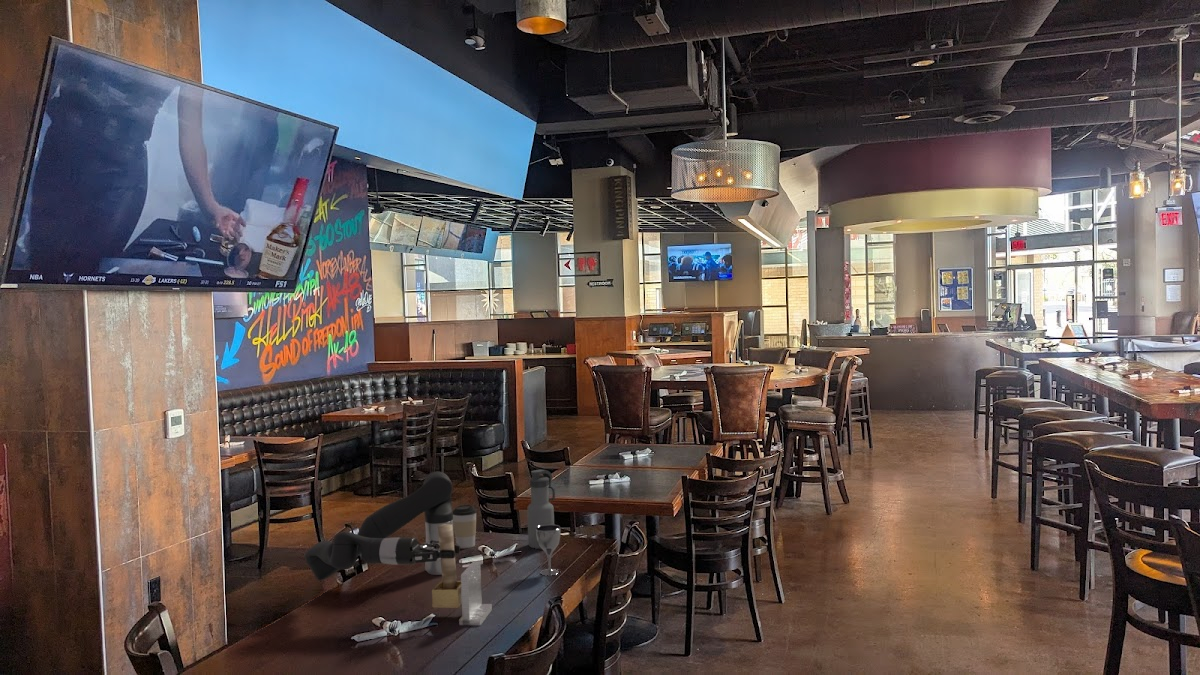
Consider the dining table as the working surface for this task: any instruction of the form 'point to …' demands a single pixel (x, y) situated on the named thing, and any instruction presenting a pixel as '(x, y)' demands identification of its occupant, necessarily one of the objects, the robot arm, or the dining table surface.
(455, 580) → the rail post
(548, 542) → the wine glass
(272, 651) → the dining table surface
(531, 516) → the water bottle
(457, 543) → the coffee cup
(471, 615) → the cup bracket
